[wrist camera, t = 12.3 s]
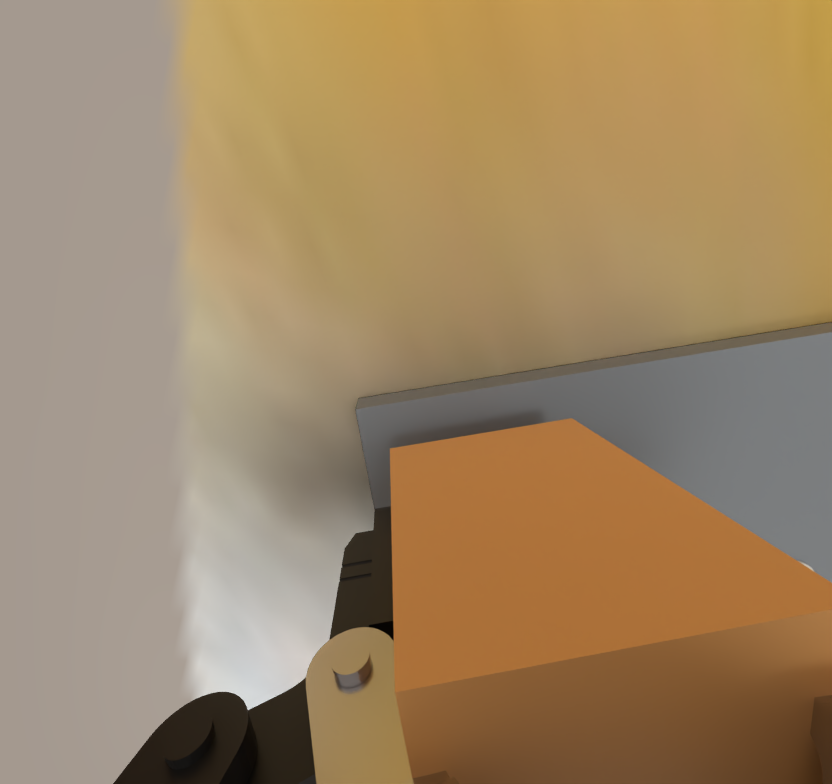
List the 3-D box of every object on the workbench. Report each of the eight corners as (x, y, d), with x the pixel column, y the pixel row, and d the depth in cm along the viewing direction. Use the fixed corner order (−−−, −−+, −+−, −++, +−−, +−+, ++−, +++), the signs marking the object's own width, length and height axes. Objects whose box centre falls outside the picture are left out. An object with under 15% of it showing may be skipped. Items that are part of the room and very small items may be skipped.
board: (1041, 288, 12) (1121, 286, 11) (980, 557, 15) (1039, 583, 13) (358, 398, 12) (354, 411, 10) (408, 664, 14) (411, 704, 13)
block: (571, 418, 10) (864, 603, 4) (580, 574, 11) (817, 910, 5) (390, 448, 9) (394, 692, 4) (417, 604, 10) (455, 990, 5)
